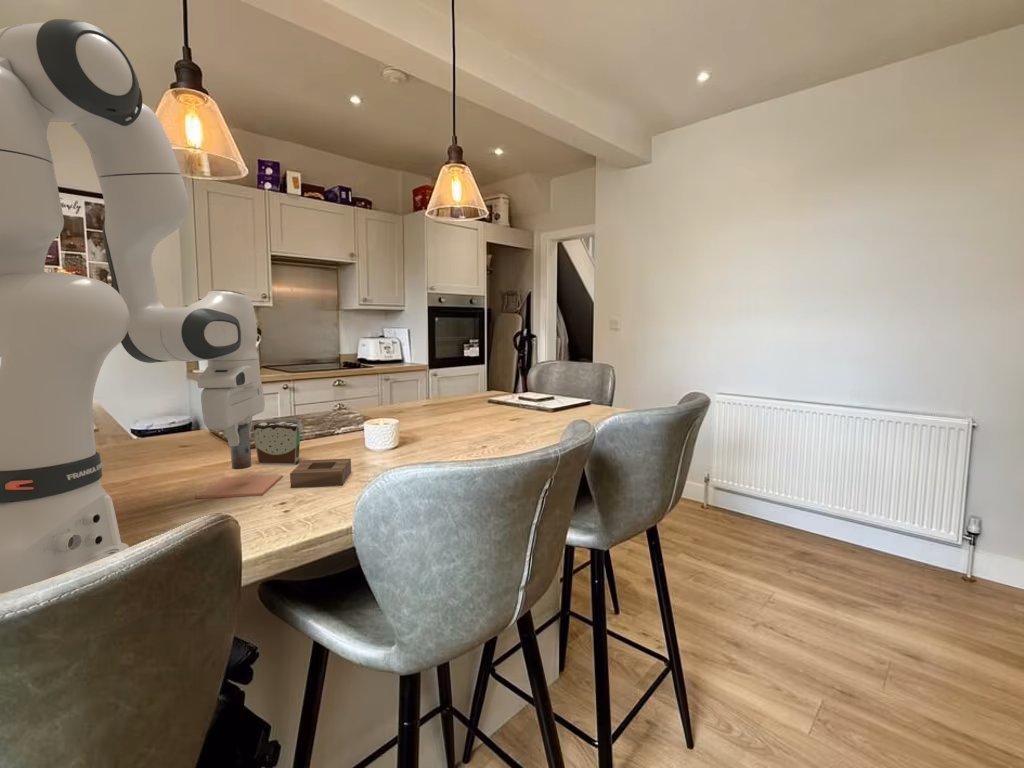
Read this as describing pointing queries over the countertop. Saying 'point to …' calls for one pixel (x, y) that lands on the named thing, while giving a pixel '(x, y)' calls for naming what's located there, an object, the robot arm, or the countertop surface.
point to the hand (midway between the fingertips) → (240, 442)
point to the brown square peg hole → (320, 473)
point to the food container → (277, 441)
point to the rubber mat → (240, 486)
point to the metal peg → (242, 447)
